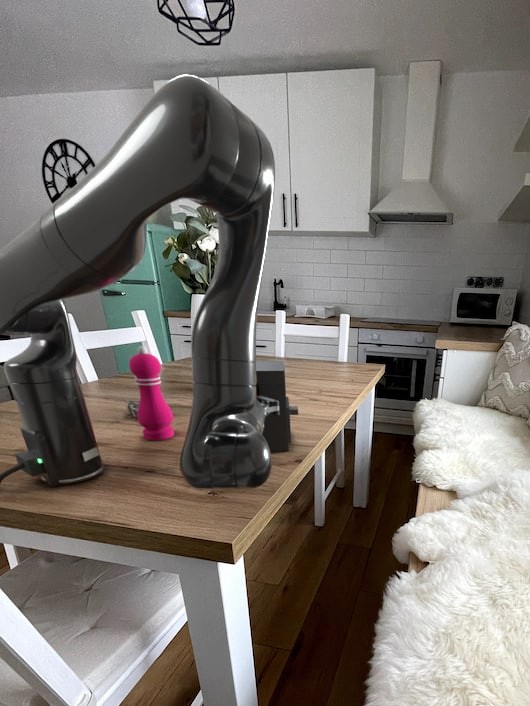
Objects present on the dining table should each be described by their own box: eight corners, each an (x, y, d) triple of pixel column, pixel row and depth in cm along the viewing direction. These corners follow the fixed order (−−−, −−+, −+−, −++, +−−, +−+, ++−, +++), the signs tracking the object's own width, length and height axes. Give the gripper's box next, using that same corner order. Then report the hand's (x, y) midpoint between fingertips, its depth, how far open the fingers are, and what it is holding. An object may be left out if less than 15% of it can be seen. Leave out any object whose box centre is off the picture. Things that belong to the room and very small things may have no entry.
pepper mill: (163, 442, 87) (144, 348, 79) (134, 439, 89) (113, 346, 80) (182, 432, 94) (167, 344, 85) (155, 430, 95) (138, 343, 86)
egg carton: (125, 413, 108) (122, 398, 106) (154, 408, 113) (151, 394, 111) (139, 421, 101) (136, 405, 99) (169, 416, 106) (166, 400, 104)
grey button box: (298, 432, 97) (295, 360, 89) (300, 451, 85) (297, 370, 78) (223, 434, 93) (214, 360, 86) (216, 454, 82) (204, 371, 75)
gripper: (280, 398, 62) (280, 377, 78) (192, 399, 60) (210, 377, 75) (283, 442, 66) (282, 414, 81) (199, 445, 63) (215, 415, 79)
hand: (247, 396), depth 78 cm, fingers closed
